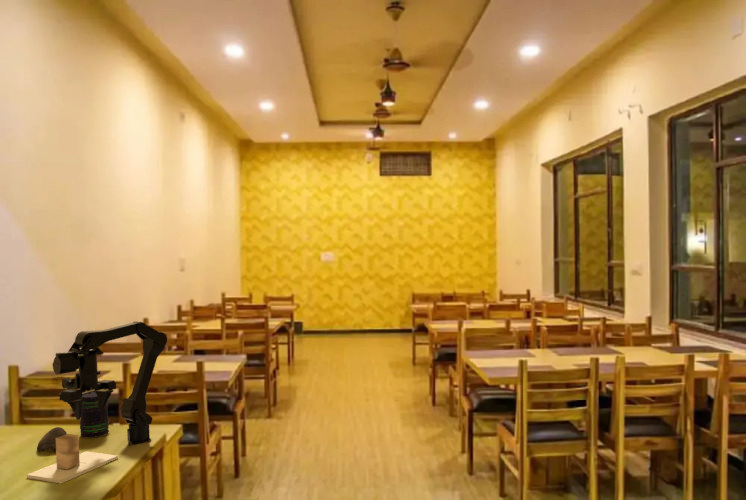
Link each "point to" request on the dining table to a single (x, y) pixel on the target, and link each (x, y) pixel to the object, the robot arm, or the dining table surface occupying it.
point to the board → (86, 464)
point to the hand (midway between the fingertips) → (89, 415)
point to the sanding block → (67, 451)
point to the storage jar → (93, 417)
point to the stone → (50, 439)
